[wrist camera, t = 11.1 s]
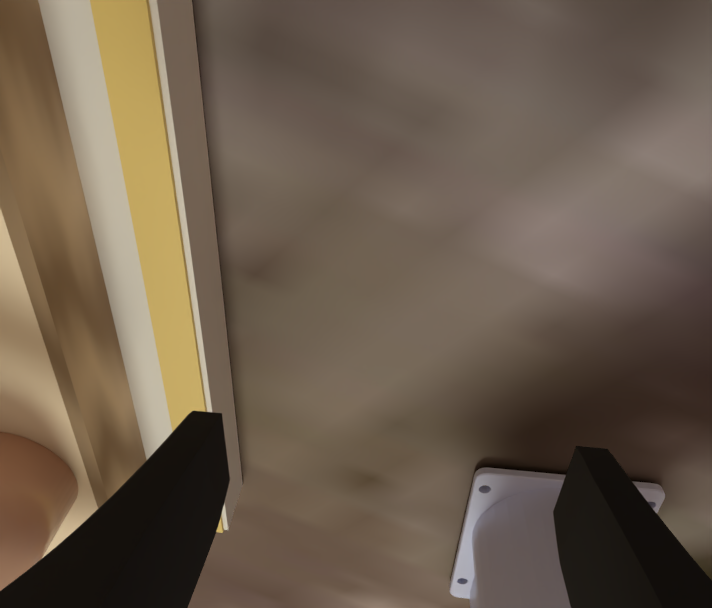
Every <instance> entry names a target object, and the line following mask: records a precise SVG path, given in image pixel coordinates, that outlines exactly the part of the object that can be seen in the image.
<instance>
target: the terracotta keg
mask: <svg viewBox="0 0 712 608" xmlns="http://www.w3.org/2000/svg"><path fill="white" fill-rule="evenodd" d="M77 496H78V483H77V480H76V478H75V476H74V474H73V472H72V471H71V469H70V468H69V467H68V465H67V464H66V463H65V462H64V461H63V460H62V459H61V458H60V457H58V456H57V455H56V454H55V453H53V452H52V451H50V450H49V449H47V448H46V447H44V446H42V445H40V444H38V443H36V442H34V441H32V440H30V439H27V438H24V437H21V436H18V435H14V434H10V433H4V432H0V591H1V590H2V589H3V588H5V587H6V586H7V585H9V584H10V583H11V582H13V581H14V580H15V579H17V578H18V577H19V576H21V575H22V574H23V573H24V572H26V571H27V570H28V569H30V568H31V567H32V566H33V565H35V564H36V563H37V562H38V561H39V560H41V559H42V557H43V556H44V554H45V552H46V551H47V549H48V547H49V545H50V544H51V542H52V540H53V539H54V537H55V535H56V533H57V532H58V530H59V528H60V526H61V525H62V523H63V521H64V520H65V518H66V516H67V514H68V513H69V511H70V509H71V508H72V506H73V504H74V502H75V501H76V499H77Z"/></svg>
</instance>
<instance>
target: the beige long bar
mask: <svg viewBox="0 0 712 608" xmlns="http://www.w3.org/2000/svg"><path fill="white" fill-rule="evenodd" d="M0 432H4V433H10V434H14V435H18V436H21V437H24V438H27V439H30V440H32V441H34V442H36V443H38V444H40V445H42V446H44V447H46V448H47V449H49V450H50V451H52V452H53V453H55V454H56V455H57V456H58V457H60V458H61V459H62V460H63V461H64V462H65V463H66V464H67V465H68V467H69V468H70V469H71V471H72V472H73V474H74V476H75V478H76V480H77V483H78V496H77V499H76V501H75V502H74V504H73V506H72V508H71V509H70V511H69V513H68V514H67V516H66V518H65V520H64V521H63V523H62V525H61V526H60V528H59V530H58V532H57V533H56V535H55V537H54V539H53V540H52V542H51V544H50V545H49V547H48V549H47V551H46V552H45V554H44V556H46V555H47V554H48V553H49V552H50V551H52V550H53V549H54V548H55V547H56V546H57V545H59V544H60V543H61V542H62V541H63V540H64V539H66V538H67V537H68V536H69V535H70V534H71V533H72V532H74V531H75V530H76V529H77V528H78V527H79V526H80V525H81V524H82V523H84V522H85V521H86V520H87V519H88V518H89V517H90V516H91V515H92V514H93V513H94V512H95V511H96V510H97V509H98V508H99V507H101V506H102V505H103V504H104V503H105V502H106V501H107V500H108V499H109V498H110V497H111V496H112V495H113V494H114V493H115V492H116V491H117V490H118V489H119V488H120V487H121V486H122V485H123V484H124V483H125V482H126V481H127V480H128V479H129V478H130V477H131V476H132V475H133V474H134V473H135V472H136V471H137V470H138V469H139V468H140V467H141V466H142V465H143V464H144V463H145V462H146V461H147V460H146V455H145V451H144V447H143V443H142V438H141V434H140V430H139V426H138V422H137V417H136V413H135V409H134V405H133V400H132V396H131V392H130V388H129V383H128V379H127V375H126V371H125V366H124V362H123V358H122V354H121V349H120V345H119V341H118V337H117V333H116V328H115V324H114V320H113V316H112V311H111V307H110V303H109V299H108V294H107V290H106V286H105V282H104V277H103V273H102V269H101V265H100V260H99V256H98V252H97V248H96V243H95V239H94V235H93V231H92V227H91V222H90V218H89V214H88V210H87V205H86V201H85V197H84V193H83V188H82V184H81V180H80V176H79V171H78V167H77V163H76V159H75V154H74V150H73V146H72V142H71V138H70V133H69V129H68V125H67V121H66V116H65V112H64V108H63V104H62V99H61V95H60V91H59V87H58V82H57V78H56V74H55V70H54V65H53V61H52V57H51V53H50V49H49V44H48V40H47V36H46V32H45V27H44V23H43V19H42V15H41V10H40V6H39V2H38V0H0ZM44 556H43V557H44ZM43 557H42V558H43Z"/></svg>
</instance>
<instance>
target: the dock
mask: <svg viewBox="0 0 712 608" xmlns="http://www.w3.org/2000/svg"><path fill="white" fill-rule="evenodd" d="M38 2H39V6H40V10H41V15H42V19H43V23H44V27H45V32H46V36H47V40H48V44H49V49H50V53H51V57H52V61H53V65H54V70H55V74H56V78H57V82H58V87H59V91H60V95H61V99H62V104H63V108H64V112H65V116H66V121H67V125H68V129H69V133H70V138H71V142H72V146H73V150H74V154H75V159H76V163H77V167H78V171H79V176H80V180H81V184H82V188H83V193H84V197H85V201H86V205H87V210H88V214H89V218H90V222H91V227H92V231H93V235H94V239H95V243H96V248H97V252H98V256H99V260H100V265H101V269H102V273H103V277H104V282H105V286H106V290H107V294H108V299H109V303H110V307H111V311H112V316H113V320H114V324H115V328H116V333H117V337H118V341H119V345H120V349H121V354H122V358H123V362H124V366H125V371H126V375H127V379H128V383H129V388H130V392H131V396H132V400H133V405H134V409H135V413H136V417H137V422H138V426H139V430H140V434H141V438H142V443H143V447H144V451H145V455H146V460H147V459H148V458H149V457H150V456H151V455H152V454H153V453H154V452H155V451H156V450H157V449H158V448H159V447H160V445H161V444H162V443H163V442H164V441H165V440H166V439H167V438H168V437H169V435H170V434H171V433H172V432H173V431H174V430H175V429H176V428H177V426H178V425H179V424H180V423H181V422H182V421H183V420H184V419H185V417H186V416H187V415H188V414H189V413H191V412H192V411H203V412H214V413H222V418H223V426H224V435H225V443H226V451H227V459H228V467H229V475H230V482H229V486H228V490H227V494H226V498H225V502H224V506H223V510H222V514H221V518H220V521H219V525H218V528H217V531H216V532H220V533H223V530H228V529H229V526H230V523H231V520H232V517H233V513H234V510H235V507H236V504H237V501H238V498H239V494H240V491H241V488H242V485H243V481H242V472H241V462H240V453H239V443H238V434H237V424H236V415H235V405H234V396H233V386H232V377H231V367H230V358H229V348H228V339H227V329H226V320H225V310H224V300H223V291H222V281H221V272H220V262H219V253H218V243H217V234H216V224H215V215H214V205H213V196H212V186H211V177H210V167H209V158H208V148H207V139H206V129H205V120H204V110H203V101H202V91H201V82H200V72H199V62H198V53H197V43H196V34H195V24H194V15H193V5H192V0H38Z"/></svg>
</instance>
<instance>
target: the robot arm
mask: <svg viewBox="0 0 712 608" xmlns="http://www.w3.org/2000/svg"><path fill="white" fill-rule="evenodd" d="M229 482H230V475H229V467H228V459H227V451H226V443H225V435H224V426H223V418H222V413H214V412H203V411H192V412H191V413H189V414H188V415H187V416H186V417H185V419H184V420H183V421H182V422H181V423H180V424H179V425H178V426H177V428H176V429H175V430H174V431H173V432H172V433H171V434H170V435H169V437H168V438H167V439H166V440H165V441H164V442H163V443H162V444H161V445H160V447H159V448H158V449H157V450H156V451H155V452H154V453H153V454H152V455H151V456H150V457H149V458H148V459H147V461H146V462H145V463H144V464H143V465H142V466H141V467H140V468H139V469H138V470H137V471H136V472H135V473H134V474H133V475H132V476H131V477H130V478H129V479H128V480H127V481H126V482H125V483H124V484H123V485H122V486H121V487H120V488H119V489H118V490H117V491H116V492H115V493H114V494H113V495H112V496H111V497H110V498H109V499H108V500H107V501H106V502H105V503H104V504H103V505H102V506H101V507H99V508H98V509H97V510H96V511H95V512H94V513H93V514H92V515H91V516H90V517H89V518H88V519H87V520H86V521H85V522H84V523H82V524H81V525H80V526H79V527H78V528H77V529H76V530H75V531H74V532H72V533H71V534H70V535H69V536H68V537H67V538H66V539H64V540H63V541H62V542H61V543H60V544H59V545H57V546H56V547H55V548H54V549H53V550H52V551H50V552H49V553H48V554H47V555H46V556H44V557H43V558H42V559H41V560H39V561H38V562H37V563H36V564H35V565H33V566H32V567H31V568H30V569H28V570H27V571H26V572H24V573H23V574H22V575H21V576H19V577H18V578H17V579H15V580H14V581H13V582H11V583H10V584H9V585H7V586H6V587H5V588H3V589H2V590H1V591H0V608H187V607H188V605H189V602H190V599H191V597H192V594H193V592H194V589H195V586H196V584H197V581H198V579H199V576H200V573H201V571H202V568H203V566H204V563H205V560H206V558H207V555H208V552H209V550H210V547H211V544H212V542H213V539H214V536H215V534H216V531H217V528H218V525H219V521H220V518H221V514H222V510H223V506H224V502H225V498H226V494H227V490H228V486H229ZM483 485H487V486H483ZM664 499H665V493H664V491H663V489H662V487H661V486H660V485H658V484H654V483H645V482H635V481H631V479H630V478H629V477H628V475H627V474H626V473H625V471H624V470H623V469H622V467H621V466H620V465H619V463H618V462H617V461H616V459H615V458H614V457H613V455H612V454H611V453H610V452H609V450H608V449H601V448H590V447H579V446H576V448H575V451H574V454H573V457H572V460H571V462H570V465H569V468H568V471H567V474H566V475H561V474H551V473H541V472H530V471H520V470H509V469H499V468H488V467H485V468H481V469H478V470H477V471H476V472H475V474H474V478H473V483H472V487H471V492H470V496H469V501H468V505H467V510H466V514H465V518H464V523H463V527H462V532H461V536H460V541H459V545H458V550H457V554H456V559H455V563H454V568H453V572H452V576H451V581H450V593H451V594H452V595H453V596H455V597H460V598H469V599H470V608H712V580H711V579H710V578H709V577H708V576H707V575H706V574H705V572H704V571H703V570H702V569H701V568H700V566H699V565H698V564H697V563H696V562H695V561H694V559H693V558H692V557H691V556H690V555H689V553H688V552H687V551H686V550H685V548H684V547H683V546H682V545H681V543H680V542H679V541H678V540H677V539H676V537H675V536H674V535H673V534H672V532H671V531H670V530H669V529H668V527H667V526H666V525H665V524H664V522H663V521H662V520H661V519H660V517H659V516H658V515H657V512H658V511H659V509H660V507H661V505H662V503H663V501H664Z"/></svg>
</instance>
